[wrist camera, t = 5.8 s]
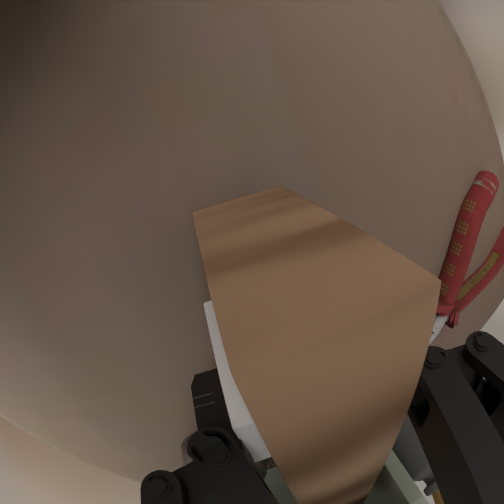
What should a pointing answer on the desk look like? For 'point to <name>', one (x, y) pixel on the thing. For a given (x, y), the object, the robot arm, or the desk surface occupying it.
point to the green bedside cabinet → (380, 496)
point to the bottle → (415, 459)
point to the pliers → (467, 255)
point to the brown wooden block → (317, 336)
